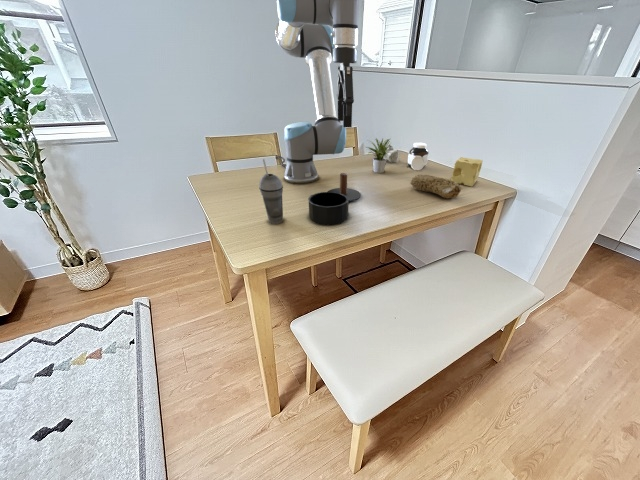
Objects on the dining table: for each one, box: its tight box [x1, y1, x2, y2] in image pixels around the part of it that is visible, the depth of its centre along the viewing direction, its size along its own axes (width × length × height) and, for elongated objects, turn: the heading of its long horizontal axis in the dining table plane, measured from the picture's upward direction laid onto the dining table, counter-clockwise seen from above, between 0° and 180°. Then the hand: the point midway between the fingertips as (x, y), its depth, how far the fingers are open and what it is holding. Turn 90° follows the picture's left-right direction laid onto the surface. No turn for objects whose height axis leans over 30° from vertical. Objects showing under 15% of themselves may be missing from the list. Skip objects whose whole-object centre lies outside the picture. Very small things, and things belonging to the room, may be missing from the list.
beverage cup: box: [259, 158, 284, 225], centre depth 87 cm, size 7×7×20 cm
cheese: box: [450, 156, 484, 187], centre depth 129 cm, size 10×11×10 cm
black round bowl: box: [307, 191, 350, 226], centre depth 95 cm, size 13×13×6 cm
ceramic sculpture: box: [373, 144, 400, 164], centre depth 156 cm, size 11×9×15 cm
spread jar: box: [407, 142, 429, 171], centre depth 145 cm, size 12×11×12 cm
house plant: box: [365, 137, 392, 174], centre depth 138 cm, size 14×14×16 cm
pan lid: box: [326, 172, 362, 203], centre depth 110 cm, size 14×14×9 cm
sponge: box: [410, 174, 462, 199], centre depth 117 cm, size 13×8×20 cm
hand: (344, 123), depth 97 cm, fingers open, 13 cm apart
